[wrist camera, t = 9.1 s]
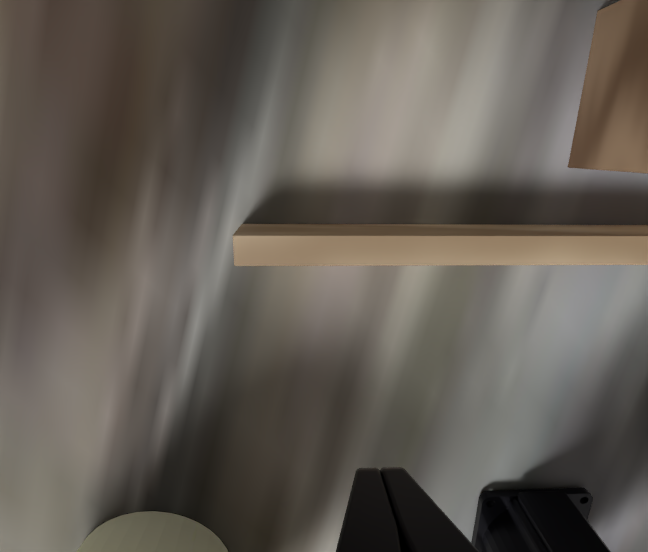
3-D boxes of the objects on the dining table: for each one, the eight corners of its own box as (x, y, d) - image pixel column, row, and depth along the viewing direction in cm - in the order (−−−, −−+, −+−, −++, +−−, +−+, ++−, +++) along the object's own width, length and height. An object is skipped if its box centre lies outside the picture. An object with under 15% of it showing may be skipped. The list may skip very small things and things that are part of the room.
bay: (705, 249, 19) (776, 267, 16) (243, 250, 18) (232, 269, 15) (811, -89, 15) (929, -144, 12) (224, -117, 14) (205, -184, 11)
